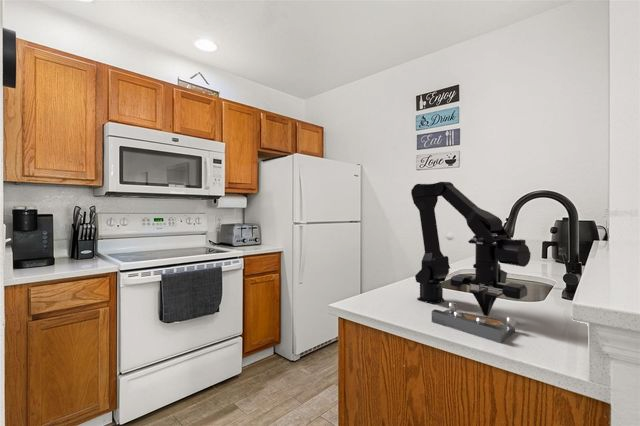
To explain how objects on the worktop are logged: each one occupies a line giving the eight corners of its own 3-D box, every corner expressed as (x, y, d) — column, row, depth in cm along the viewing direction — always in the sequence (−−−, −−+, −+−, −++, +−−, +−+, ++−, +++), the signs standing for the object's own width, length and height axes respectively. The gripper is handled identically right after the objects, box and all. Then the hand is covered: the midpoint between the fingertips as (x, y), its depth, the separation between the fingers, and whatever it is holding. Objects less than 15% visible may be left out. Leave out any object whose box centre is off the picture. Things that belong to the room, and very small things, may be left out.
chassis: (431, 321, 90) (431, 309, 89) (450, 313, 96) (450, 301, 96) (500, 343, 76) (500, 328, 75) (517, 331, 82) (517, 318, 82)
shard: (459, 316, 94) (459, 310, 94) (485, 316, 95) (485, 310, 95) (479, 331, 84) (479, 324, 84) (508, 331, 84) (508, 324, 84)
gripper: (535, 261, 88) (534, 317, 89) (467, 253, 103) (467, 302, 103) (519, 267, 81) (518, 328, 82) (449, 257, 96) (449, 309, 96)
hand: (486, 315), depth 91 cm, fingers closed
